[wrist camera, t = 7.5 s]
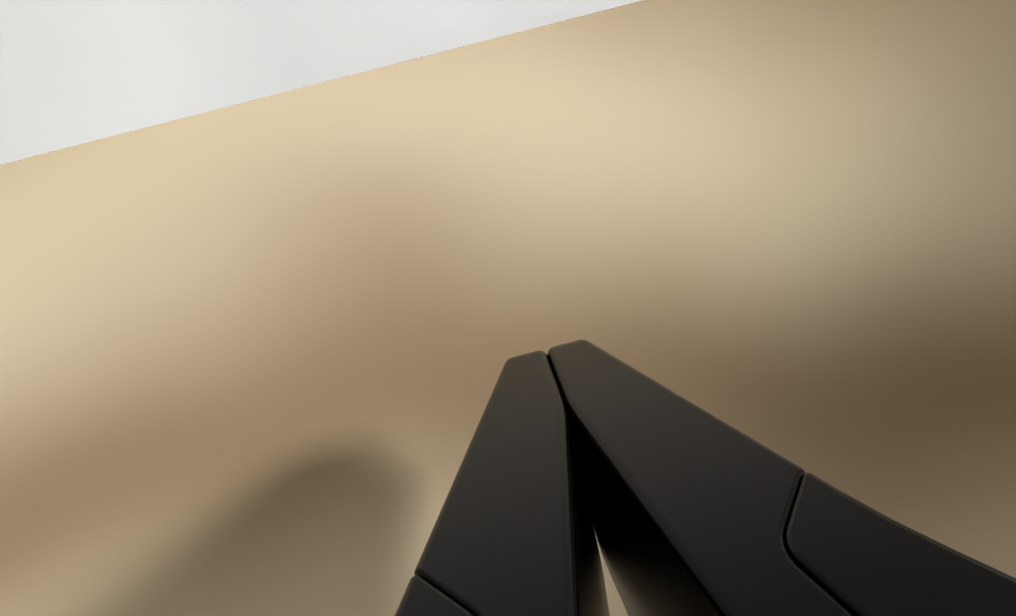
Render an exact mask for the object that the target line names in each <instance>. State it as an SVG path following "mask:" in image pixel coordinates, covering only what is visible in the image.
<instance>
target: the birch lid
mask: <svg viewBox="0 0 1016 616" xmlns="http://www.w3.org/2000/svg"><path fill="white" fill-rule="evenodd" d="M581 339H584V340H587V341H589V342H591V343H593V344H594V345H596V346H598V347H599V348H601V349H603V350H604V351H606V352H608V353H609V354H611V355H613V356H614V357H616V358H618V359H619V360H621V361H623V362H625V363H626V364H628V365H630V366H631V367H633V368H635V369H636V370H638V371H640V372H641V373H643V374H645V375H646V376H648V377H650V378H651V379H653V380H655V381H656V382H658V383H660V384H662V385H663V386H665V387H667V388H668V389H670V390H672V391H673V392H675V393H677V394H678V395H680V396H682V397H683V398H685V399H687V400H688V401H690V402H692V403H693V404H695V405H697V406H699V407H700V408H702V409H704V410H705V411H707V412H709V413H710V414H712V415H714V416H715V417H717V418H719V419H720V420H722V421H724V422H725V423H727V424H729V425H730V426H732V427H734V428H736V429H737V430H739V431H741V432H742V433H744V434H746V435H747V436H749V437H751V438H752V439H754V440H756V441H757V442H759V443H761V444H762V445H764V446H766V447H768V448H769V449H771V450H773V451H774V452H776V453H778V454H779V455H781V456H783V457H784V458H786V459H788V460H789V461H791V462H793V463H794V464H796V465H798V466H799V467H801V468H803V470H804V471H805V474H806V473H812V474H814V475H815V476H817V477H819V478H820V479H822V480H824V481H825V482H827V483H829V484H830V485H832V486H834V487H835V488H837V489H839V490H841V491H842V492H844V493H846V494H848V495H849V496H851V497H853V498H855V499H857V500H858V501H860V502H862V503H864V504H866V505H867V506H869V507H871V508H873V509H875V510H876V511H878V512H880V513H882V514H884V515H885V516H887V517H889V518H891V519H893V520H895V521H897V522H899V523H901V524H903V525H905V526H907V527H909V528H911V529H913V530H915V531H917V532H919V533H921V534H923V535H925V536H927V537H929V538H931V539H933V540H936V541H938V542H940V543H942V544H944V545H946V546H948V547H950V548H952V549H954V550H956V551H958V552H960V553H962V554H965V555H967V556H969V557H971V558H973V559H975V560H978V561H980V562H982V563H984V564H986V565H988V566H991V567H993V568H995V569H997V570H999V571H1001V572H1003V573H1006V574H1008V575H1010V576H1012V577H1014V578H1016V0H643V1H639V2H635V3H631V4H627V5H623V6H620V7H616V8H612V9H608V10H604V11H600V12H596V13H592V14H588V15H584V16H580V17H577V18H573V19H569V20H565V21H561V22H557V23H553V24H549V25H545V26H541V27H537V28H534V29H530V30H526V31H522V32H518V33H514V34H510V35H506V36H502V37H498V38H494V39H491V40H487V41H483V42H479V43H475V44H471V45H467V46H463V47H459V48H455V49H452V50H448V51H444V52H440V53H436V54H432V55H428V56H424V57H420V58H416V59H412V60H409V61H405V62H401V63H397V64H393V65H389V66H385V67H381V68H377V69H373V70H369V71H366V72H362V73H358V74H354V75H350V76H346V77H342V78H338V79H334V80H330V81H326V82H323V83H319V84H315V85H311V86H307V87H303V88H299V89H295V90H291V91H287V92H284V93H280V94H276V95H272V96H268V97H264V98H260V99H256V100H252V101H248V102H244V103H241V104H237V105H233V106H229V107H225V108H221V109H217V110H213V111H209V112H205V113H201V114H198V115H194V116H190V117H186V118H182V119H178V120H174V121H170V122H166V123H162V124H159V125H155V126H151V127H147V128H143V129H139V130H135V131H131V132H127V133H123V134H119V135H116V136H112V137H108V138H104V139H100V140H96V141H92V142H88V143H84V144H80V145H76V146H73V147H69V148H65V149H61V150H57V151H53V152H49V153H45V154H41V155H37V156H33V157H30V158H26V159H22V160H18V161H14V162H10V163H6V164H2V165H0V616H394V615H395V613H396V611H397V609H398V607H399V605H400V602H401V600H402V598H403V595H404V593H405V591H406V588H407V586H408V584H409V581H410V579H411V578H412V577H413V576H415V575H414V571H415V569H416V566H417V564H418V562H419V560H420V557H421V555H422V553H423V550H424V548H425V546H426V543H427V541H428V539H429V537H430V534H431V532H432V530H433V527H434V525H435V523H436V520H437V518H438V516H439V514H440V511H441V509H442V507H443V504H444V502H445V500H446V498H447V495H448V493H449V491H450V488H451V486H452V484H453V481H454V479H455V477H456V475H457V472H458V470H459V468H460V465H461V463H462V461H463V458H464V456H465V454H466V452H467V449H468V447H469V445H470V442H471V440H472V438H473V436H474V433H475V431H476V429H477V426H478V424H479V422H480V419H481V417H482V415H483V413H484V410H485V408H486V406H487V403H488V401H489V399H490V397H491V394H492V392H493V390H494V387H495V385H496V383H497V380H498V378H499V376H500V374H501V371H502V369H503V367H504V364H505V362H506V361H507V360H508V359H509V358H511V357H515V356H519V355H523V354H527V353H531V352H534V351H544V352H545V353H546V354H547V353H548V350H549V349H550V348H552V347H554V346H557V345H561V344H565V343H569V342H573V341H576V340H581ZM547 356H548V354H547ZM596 540H597V538H596ZM597 544H598V541H597ZM598 548H599V553H600V558H601V563H602V569H603V574H604V581H605V587H606V594H607V601H608V607H609V614H610V616H628V613H627V611H626V609H625V607H624V604H623V602H622V600H621V598H620V595H619V593H618V591H617V588H616V586H615V584H614V582H613V579H612V577H611V575H610V573H609V570H608V568H607V565H606V563H605V560H604V558H603V555H602V553H601V550H600V547H599V544H598Z"/></svg>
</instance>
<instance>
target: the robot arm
mask: <svg viewBox="0 0 1016 616" xmlns="http://www.w3.org/2000/svg"><path fill="white" fill-rule="evenodd" d="M547 354H548V356H547ZM547 354H546V353H545V352H544V351H534V352H531V353H527V354H523V355H519V356H515V357H511V358H509V359H508V360H507V361H506V362H505V364H504V367H503V369H502V371H501V374H500V376H499V378H498V380H497V383H496V385H495V387H494V390H493V392H492V394H491V397H490V399H489V401H488V403H487V406H486V408H485V410H484V413H483V415H482V417H481V419H480V422H479V424H478V426H477V429H476V431H475V433H474V436H473V438H472V440H471V442H470V445H469V447H468V449H467V452H466V454H465V456H464V458H463V461H462V463H461V465H460V468H459V470H458V472H457V475H456V477H455V479H454V481H453V484H452V486H451V488H450V491H449V493H448V495H447V498H446V500H445V502H444V504H443V507H442V509H441V511H440V514H439V516H438V518H437V520H436V523H435V525H434V527H433V530H432V532H431V534H430V537H429V539H428V541H427V543H426V546H425V548H424V550H423V553H422V555H421V557H420V560H419V562H418V564H417V566H416V569H415V571H414V575H415V576H413V577H412V578H411V579H410V581H409V584H408V586H407V588H406V591H405V593H404V595H403V598H402V600H401V602H400V605H399V607H398V609H397V611H396V613H395V615H394V616H610V614H609V607H608V601H607V594H606V587H605V581H604V574H603V569H602V563H601V558H600V553H599V548H598V544H599V547H600V550H601V553H602V555H603V558H604V560H605V563H606V565H607V568H608V570H609V573H610V575H611V577H612V579H613V582H614V584H615V586H616V588H617V591H618V593H619V595H620V598H621V600H622V602H623V604H624V607H625V609H626V611H627V613H628V616H1016V578H1014V577H1012V576H1010V575H1008V574H1006V573H1003V572H1001V571H999V570H997V569H995V568H993V567H991V566H988V565H986V564H984V563H982V562H980V561H978V560H975V559H973V558H971V557H969V556H967V555H965V554H962V553H960V552H958V551H956V550H954V549H952V548H950V547H948V546H946V545H944V544H942V543H940V542H938V541H936V540H933V539H931V538H929V537H927V536H925V535H923V534H921V533H919V532H917V531H915V530H913V529H911V528H909V527H907V526H905V525H903V524H901V523H899V522H897V521H895V520H893V519H891V518H889V517H887V516H885V515H884V514H882V513H880V512H878V511H876V510H875V509H873V508H871V507H869V506H867V505H866V504H864V503H862V502H860V501H858V500H857V499H855V498H853V497H851V496H849V495H848V494H846V493H844V492H842V491H841V490H839V489H837V488H835V487H834V486H832V485H830V484H829V483H827V482H825V481H824V480H822V479H820V478H819V477H817V476H815V475H814V474H812V473H806V474H805V471H804V470H803V468H801V467H799V466H798V465H796V464H794V463H793V462H791V461H789V460H788V459H786V458H784V457H783V456H781V455H779V454H778V453H776V452H774V451H773V450H771V449H769V448H768V447H766V446H764V445H762V444H761V443H759V442H757V441H756V440H754V439H752V438H751V437H749V436H747V435H746V434H744V433H742V432H741V431H739V430H737V429H736V428H734V427H732V426H730V425H729V424H727V423H725V422H724V421H722V420H720V419H719V418H717V417H715V416H714V415H712V414H710V413H709V412H707V411H705V410H704V409H702V408H700V407H699V406H697V405H695V404H693V403H692V402H690V401H688V400H687V399H685V398H683V397H682V396H680V395H678V394H677V393H675V392H673V391H672V390H670V389H668V388H667V387H665V386H663V385H662V384H660V383H658V382H656V381H655V380H653V379H651V378H650V377H648V376H646V375H645V374H643V373H641V372H640V371H638V370H636V369H635V368H633V367H631V366H630V365H628V364H626V363H625V362H623V361H621V360H619V359H618V358H616V357H614V356H613V355H611V354H609V353H608V352H606V351H604V350H603V349H601V348H599V347H598V346H596V345H594V344H593V343H591V342H589V341H587V340H584V339H581V340H576V341H573V342H569V343H565V344H561V345H557V346H554V347H552V348H550V349H549V350H548V353H547ZM596 538H597V540H596ZM597 541H598V544H597Z"/></svg>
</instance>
